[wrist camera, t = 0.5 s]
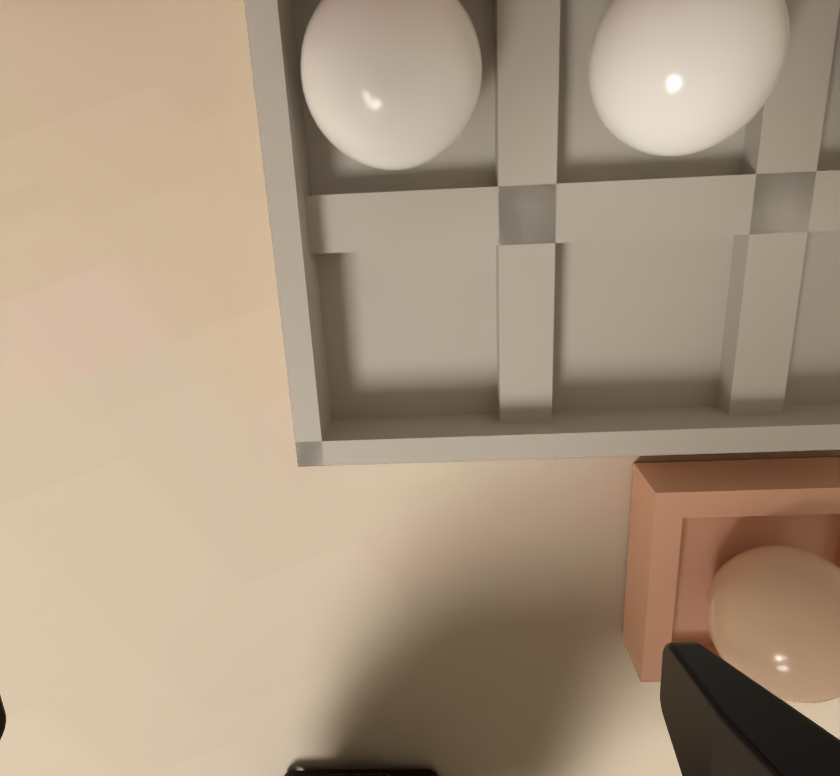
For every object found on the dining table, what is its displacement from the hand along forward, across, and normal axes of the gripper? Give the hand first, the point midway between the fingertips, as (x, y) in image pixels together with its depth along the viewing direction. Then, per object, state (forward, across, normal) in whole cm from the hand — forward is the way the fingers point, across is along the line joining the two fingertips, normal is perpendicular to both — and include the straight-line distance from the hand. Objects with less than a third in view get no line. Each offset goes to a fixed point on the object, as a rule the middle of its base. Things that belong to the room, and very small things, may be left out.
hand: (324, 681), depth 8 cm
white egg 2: (+12, -8, -9) cm, 17 cm away
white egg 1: (+12, -1, -9) cm, 15 cm away
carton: (+13, -8, -6) cm, 16 cm away
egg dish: (+13, -12, +6) cm, 19 cm away
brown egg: (+11, -12, +6) cm, 18 cm away
